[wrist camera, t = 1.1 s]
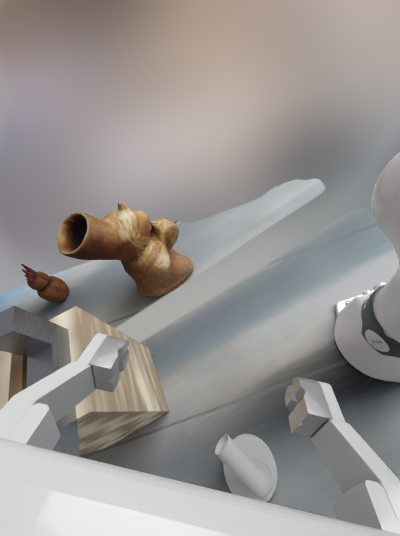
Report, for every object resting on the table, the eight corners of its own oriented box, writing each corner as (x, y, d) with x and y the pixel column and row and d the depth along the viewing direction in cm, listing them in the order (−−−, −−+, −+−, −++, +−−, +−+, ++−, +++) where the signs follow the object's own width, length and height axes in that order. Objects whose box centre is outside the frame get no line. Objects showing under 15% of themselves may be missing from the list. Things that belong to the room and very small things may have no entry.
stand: (148, 348, 52) (66, 300, 29) (169, 411, 44) (77, 411, 21) (95, 378, 51) (-35, 352, 28) (106, 448, 43) (-63, 491, 20)
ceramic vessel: (204, 265, 62) (172, 171, 37) (153, 328, 55) (71, 262, 30) (166, 245, 69) (118, 155, 45) (116, 297, 62) (27, 224, 38)
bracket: (68, 329, 29) (14, 305, 23) (88, 540, 18) (-10, 616, 11) (47, 340, 29) (-14, 319, 22) (53, 561, 17) (-67, 652, 11)
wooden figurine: (60, 286, 69) (18, 259, 57) (75, 285, 68) (36, 258, 56) (50, 305, 66) (3, 281, 54) (66, 305, 65) (22, 281, 52)
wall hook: (235, 416, 34) (295, 480, 29) (239, 415, 41) (286, 465, 36) (197, 468, 31) (255, 548, 26) (209, 457, 39) (255, 516, 34)
